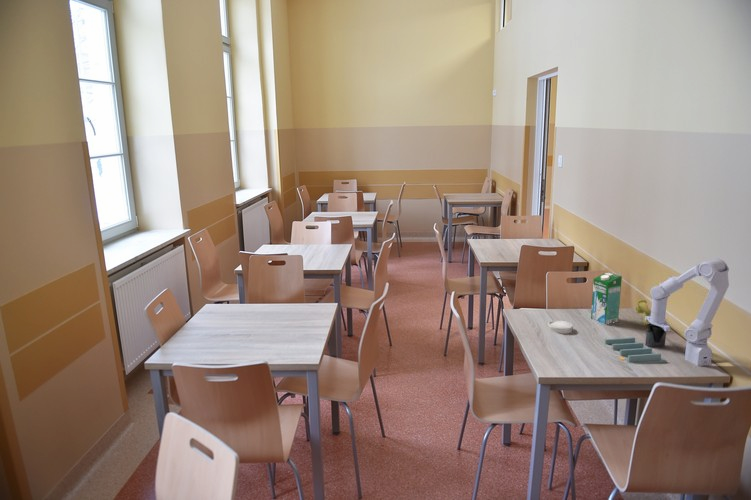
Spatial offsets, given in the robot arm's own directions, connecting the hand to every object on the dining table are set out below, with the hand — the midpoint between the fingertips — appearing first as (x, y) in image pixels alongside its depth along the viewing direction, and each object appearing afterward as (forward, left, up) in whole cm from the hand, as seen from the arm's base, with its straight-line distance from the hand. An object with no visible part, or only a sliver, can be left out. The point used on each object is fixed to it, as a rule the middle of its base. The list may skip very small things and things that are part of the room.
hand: (655, 341), depth 234 cm
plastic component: (+29, -13, -3) cm, 32 cm away
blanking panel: (0, 0, -2) cm, 2 cm away
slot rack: (-6, +15, -2) cm, 16 cm away
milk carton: (+31, +6, -3) cm, 32 cm away
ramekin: (+20, +35, -3) cm, 40 cm away
